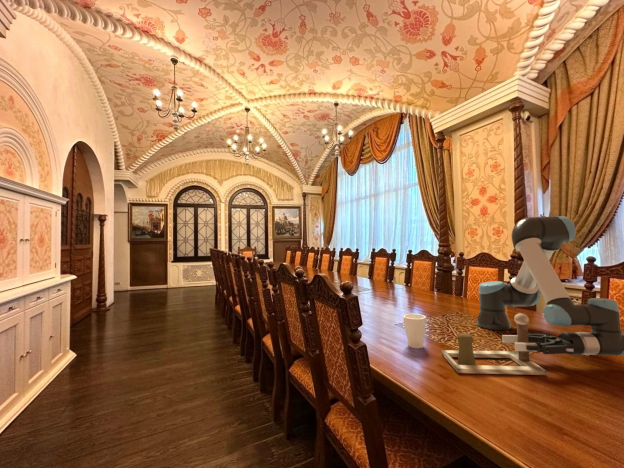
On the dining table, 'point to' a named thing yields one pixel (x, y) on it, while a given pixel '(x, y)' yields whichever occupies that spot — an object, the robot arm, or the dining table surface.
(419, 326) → the foam cup
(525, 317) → the joystick on frame
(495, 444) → the dining table surface
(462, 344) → the cork
